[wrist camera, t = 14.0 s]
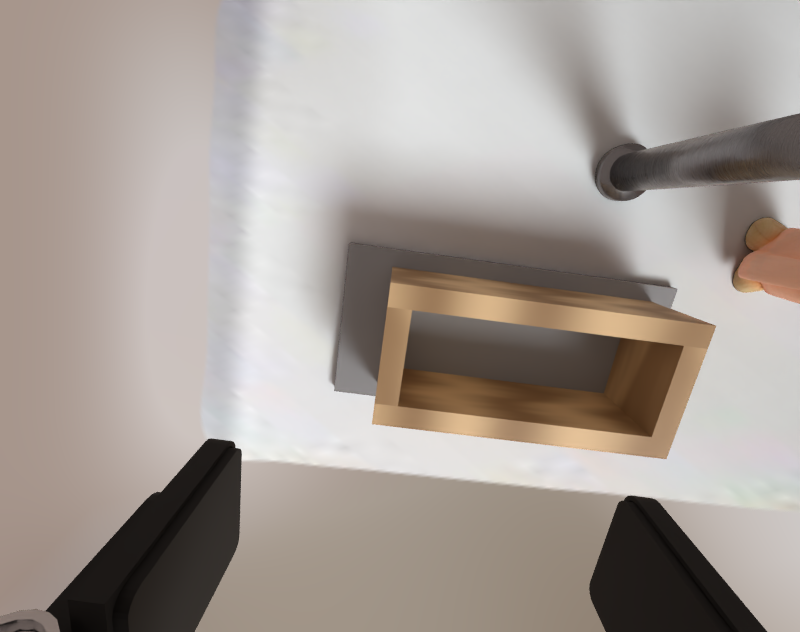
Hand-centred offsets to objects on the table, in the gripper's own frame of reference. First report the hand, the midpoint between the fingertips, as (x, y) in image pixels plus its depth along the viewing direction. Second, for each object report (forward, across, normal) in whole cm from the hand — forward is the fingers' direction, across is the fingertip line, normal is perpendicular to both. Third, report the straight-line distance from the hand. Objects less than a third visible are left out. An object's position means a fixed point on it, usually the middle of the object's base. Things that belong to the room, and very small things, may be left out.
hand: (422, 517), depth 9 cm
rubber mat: (+16, -5, 0) cm, 17 cm away
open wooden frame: (+15, -6, 0) cm, 17 cm away
